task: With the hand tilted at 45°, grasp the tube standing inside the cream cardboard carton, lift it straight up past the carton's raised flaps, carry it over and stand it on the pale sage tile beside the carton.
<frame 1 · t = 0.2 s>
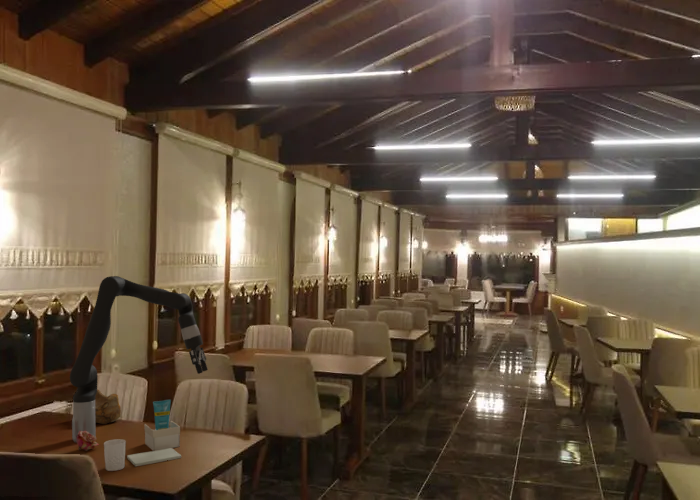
hand: (202, 372, 278), 30 cm above the table, tool tilted 20°, fingers open, 8 cm apart
tile: (154, 457, 254), on the table
flower: (87, 450, 267), on the table
tube: (162, 445, 272), resting in carton
rough brown rock: (94, 422, 314), on the table
white cup: (115, 468, 242), on the table
carton: (162, 445, 272), on the table
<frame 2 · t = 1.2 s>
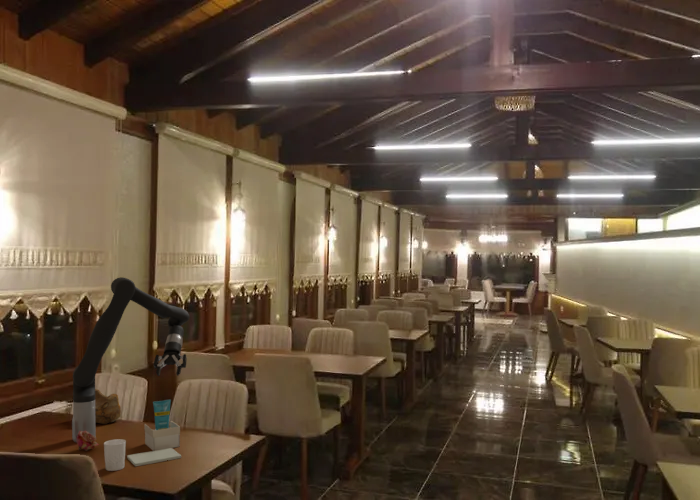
hand: (167, 374, 284), 28 cm above the table, tool tilted 45°, fingers open, 8 cm apart
nothing on the table moved.
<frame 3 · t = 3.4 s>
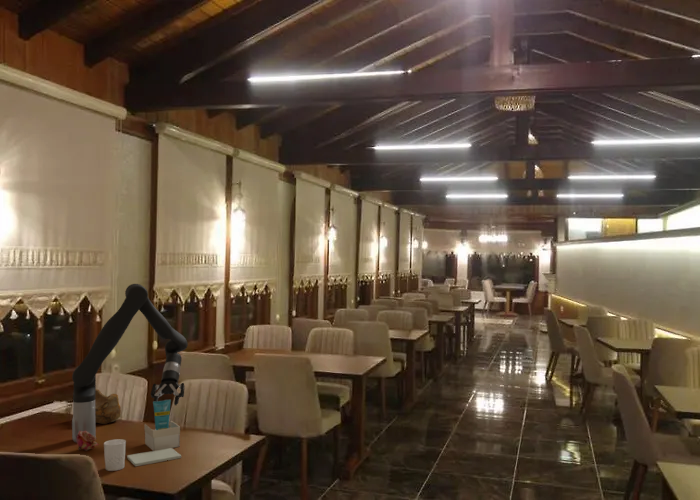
hand: (165, 404, 279), 16 cm above the table, tool tilted 45°, fingers open, 8 cm apart
nothing on the table moved.
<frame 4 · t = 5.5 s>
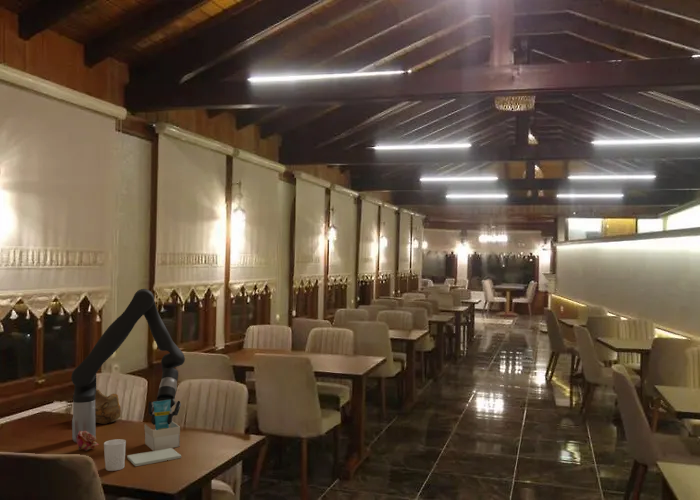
hand: (161, 423, 271), 10 cm above the table, tool tilted 45°, fingers closed on tube, 5 cm apart
tube: (162, 445, 272), resting in carton, touching gripper
everything else where it was.
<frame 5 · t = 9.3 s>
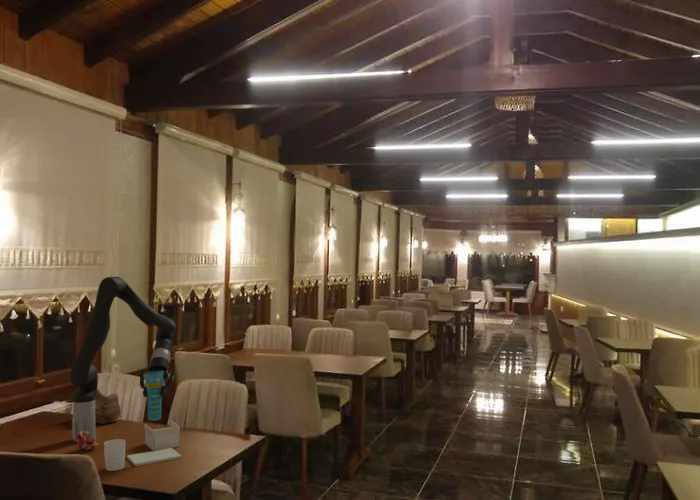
hand: (153, 395, 254), 25 cm above the table, tool tilted 45°, fingers closed on tube, 5 cm apart
tube: (154, 419, 255), point 15 cm above the table, touching gripper
everything else where it was.
when the fingers open (12 cm above the table, at t = 13.0 s): tube drops 1 cm, resting on tile.
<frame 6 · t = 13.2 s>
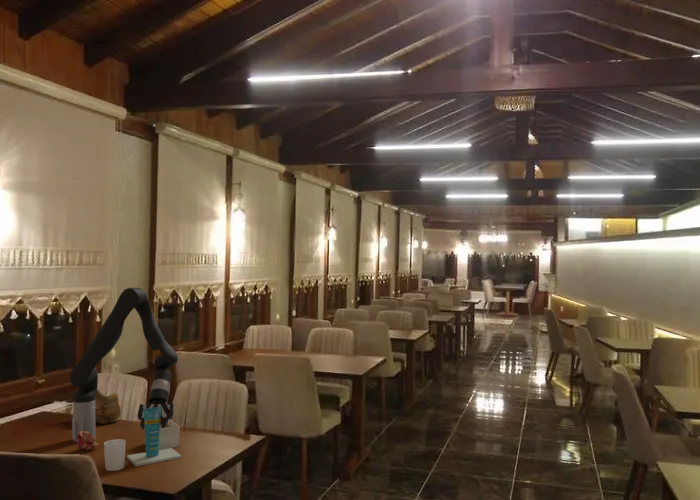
hand: (152, 427, 253), 12 cm above the table, tool tilted 45°, fingers open, 7 cm apart
tube: (152, 455, 254), point 1 cm above the table, touching tile
everything else where it was.
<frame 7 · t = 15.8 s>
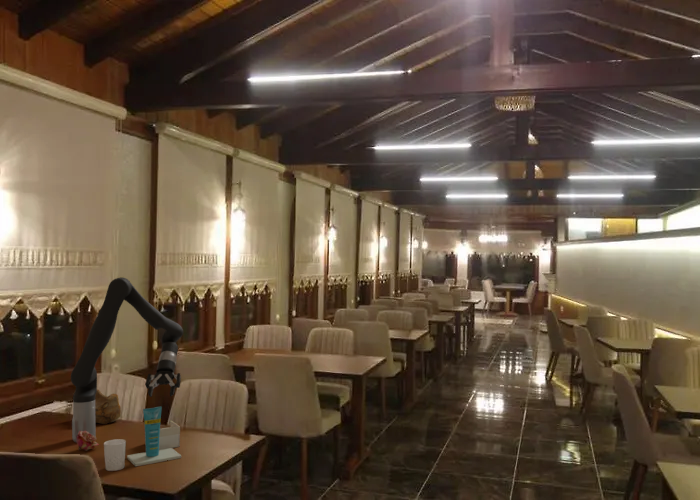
hand: (160, 395, 266), 23 cm above the table, tool tilted 45°, fingers open, 8 cm apart
nothing on the table moved.
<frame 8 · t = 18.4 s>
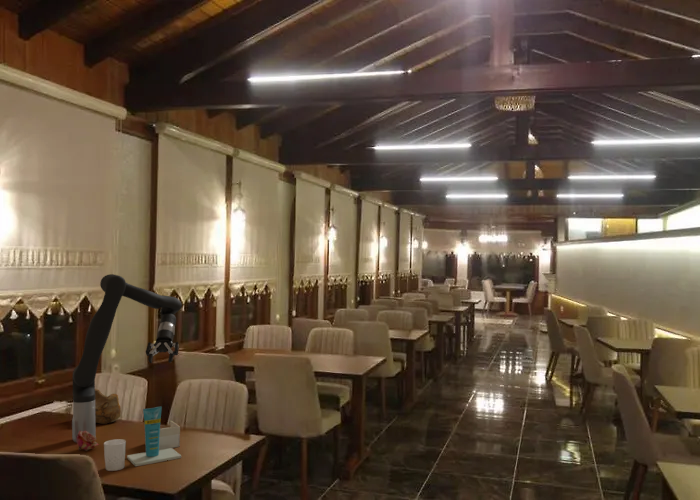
hand: (160, 362, 286), 34 cm above the table, tool tilted 45°, fingers open, 8 cm apart
nothing on the table moved.
at the end: tube inside the target area on the tile (0.5 cm from its centre), point 0.8 cm above the tile's base; tube tilted 0°; the gripper is holding nothing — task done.
